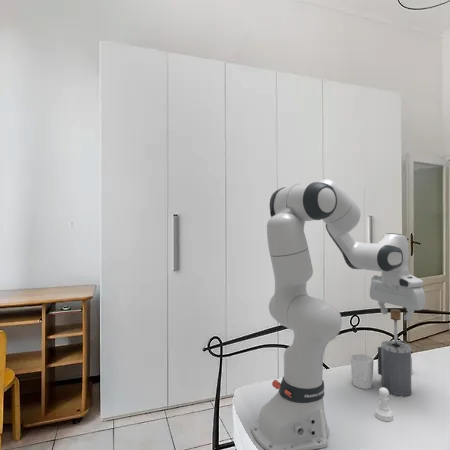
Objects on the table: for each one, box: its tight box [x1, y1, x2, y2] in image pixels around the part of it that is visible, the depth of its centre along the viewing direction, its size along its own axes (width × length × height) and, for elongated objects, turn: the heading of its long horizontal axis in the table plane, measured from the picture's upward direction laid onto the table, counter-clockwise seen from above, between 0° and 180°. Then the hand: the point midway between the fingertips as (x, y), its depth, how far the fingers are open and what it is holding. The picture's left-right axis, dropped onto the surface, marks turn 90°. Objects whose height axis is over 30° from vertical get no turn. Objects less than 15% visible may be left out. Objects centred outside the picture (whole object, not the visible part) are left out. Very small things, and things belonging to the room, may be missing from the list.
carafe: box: [377, 340, 412, 398], centre depth 120 cm, size 10×12×16 cm
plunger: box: [390, 308, 402, 347], centre depth 118 cm, size 7×7×18 cm
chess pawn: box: [374, 387, 394, 422], centre depth 102 cm, size 5×5×9 cm
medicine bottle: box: [392, 339, 413, 376], centre depth 133 cm, size 7×7×12 cm
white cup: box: [350, 353, 375, 390], centre depth 122 cm, size 8×8×10 cm
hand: (395, 316), depth 118 cm, fingers open, 8 cm apart
